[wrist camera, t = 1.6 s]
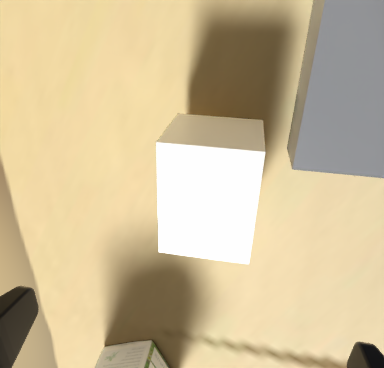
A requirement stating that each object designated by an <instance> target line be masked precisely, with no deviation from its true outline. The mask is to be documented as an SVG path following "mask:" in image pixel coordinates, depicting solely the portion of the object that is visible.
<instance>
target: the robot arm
mask: <svg viewBox="0 0 384 368" xmlns="http://www.w3.org/2000/svg"><path fill="white" fill-rule="evenodd" d="M37 314H38V303H37V299H36V296H35V292H34V290H33V289H32V288H30V287H24V286H18V287H16V288H14V289H12V290H11V291H9V292H7V293H5V294H4V295H2V296H0V368H12V366H13V364H14V362H15V360H16V358H17V356H18V354H19V352H20V350H21V348H22V345H23V343H24V341H25V339H26V337H27V335H28V333H29V331H30V329H31V327H32V324H33V323H34V321H35V318H36V316H37ZM347 368H384V355H383V354H382V353H381V352H380V351H379V349H378V348H377V347H376V346H375V345H373V344H370V343H364V342H356V343H355V345H354V347H353V349H352V352H351V354H350V356H349V359H348V362H347Z"/></svg>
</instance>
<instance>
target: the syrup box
mask: <svg viewBox="0 0 384 368" xmlns="http://www.w3.org/2000/svg"><path fill="white" fill-rule="evenodd" d="M95 368H170V367H169V365H168V364H167V362H166V361H165V359H164V357H163V356H162V355H161V353H160V352H159V350H158V348H157V347H156V345H155V344H154V343H153V341H151V340H148V341H137V342H130V343H124V344H118V345H111V346H107V347H104V348H103V349H102V352H101V354H100V356H99V359H98V361H97V363H96V366H95Z"/></svg>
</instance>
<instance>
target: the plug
mask: <svg viewBox="0 0 384 368" xmlns="http://www.w3.org/2000/svg"><path fill="white" fill-rule="evenodd" d="M264 159H265V139H264V126H263V120H256V119H243V118H230V117H217V116H204V115H191V114H177V115H176V116H175V118H174V119H173V120H172V122H171V123H170V124H169V126H168V127H167V128H166V130H165V131H164V132H163V134H162V135H161V136H160V138H159V139H158V140H157V141H156V160H157V201H158V243H159V252H161V253H169V254H176V255H183V256H191V257H198V258H205V259H213V260H220V261H227V262H235V263H242V264H249V262H250V255H251V248H252V241H253V234H254V227H255V221H256V214H257V207H258V200H259V193H260V186H261V179H262V172H263V166H264Z"/></svg>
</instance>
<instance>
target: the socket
mask: <svg viewBox="0 0 384 368" xmlns="http://www.w3.org/2000/svg"><path fill="white" fill-rule="evenodd" d="M287 149H288V153H289V157H290V162H291V166H292V169H294V170H304V171H315V172H325V173H336V174H346V175H357V176H367V177H378V178H384V0H314V1H313V6H312V12H311V18H310V23H309V29H308V34H307V40H306V46H305V51H304V57H303V62H302V68H301V74H300V79H299V85H298V90H297V96H296V102H295V107H294V113H293V118H292V124H291V130H290V135H289V141H288V146H287Z"/></svg>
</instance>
